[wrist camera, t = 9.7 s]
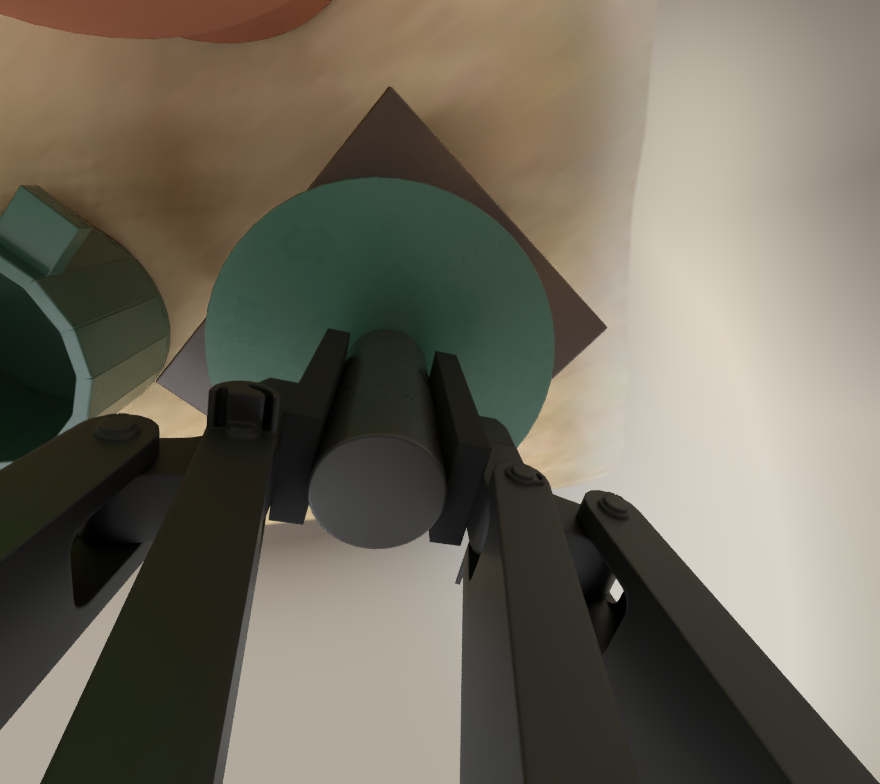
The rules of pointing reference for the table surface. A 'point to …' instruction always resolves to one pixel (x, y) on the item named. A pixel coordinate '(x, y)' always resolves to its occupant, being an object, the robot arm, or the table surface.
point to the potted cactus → (168, 17)
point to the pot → (69, 323)
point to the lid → (384, 336)
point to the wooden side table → (423, 160)
